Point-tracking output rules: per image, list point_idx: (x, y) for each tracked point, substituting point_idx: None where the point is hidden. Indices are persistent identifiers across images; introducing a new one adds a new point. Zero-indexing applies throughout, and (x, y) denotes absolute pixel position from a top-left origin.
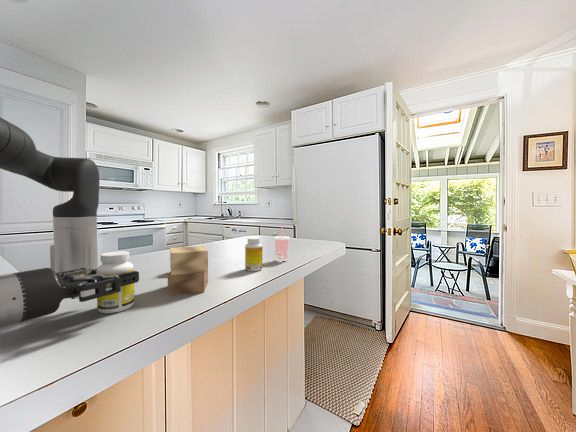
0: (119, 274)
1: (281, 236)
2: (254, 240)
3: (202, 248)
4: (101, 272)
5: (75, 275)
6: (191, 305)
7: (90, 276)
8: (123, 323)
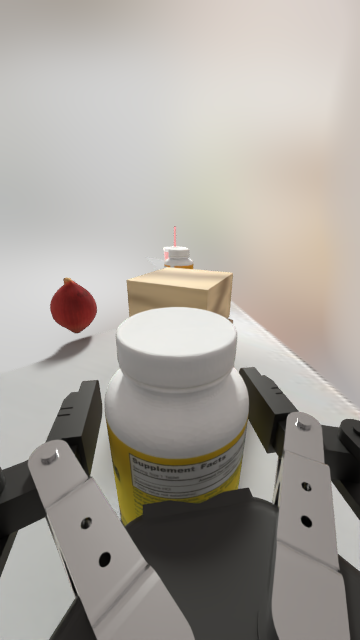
0: (273, 407)
1: (174, 246)
2: (187, 252)
3: (197, 271)
4: (216, 442)
5: (318, 617)
6: (289, 391)
7: (331, 514)
8: (347, 542)
